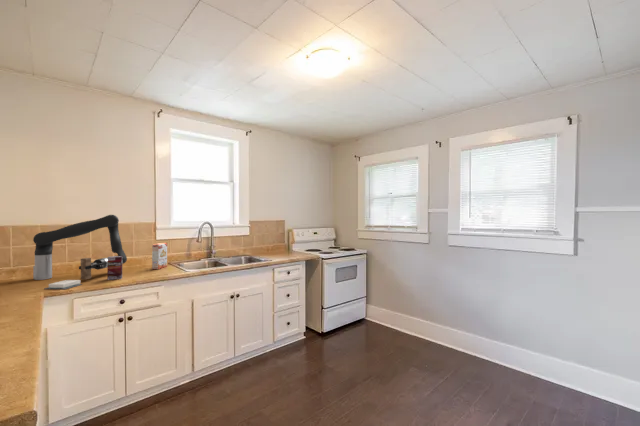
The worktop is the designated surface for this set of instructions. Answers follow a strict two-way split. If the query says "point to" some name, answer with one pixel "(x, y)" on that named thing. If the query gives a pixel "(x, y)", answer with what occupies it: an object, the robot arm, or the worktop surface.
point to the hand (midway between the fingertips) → (82, 267)
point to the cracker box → (159, 255)
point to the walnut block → (85, 272)
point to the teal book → (64, 283)
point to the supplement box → (114, 267)
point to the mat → (64, 288)
